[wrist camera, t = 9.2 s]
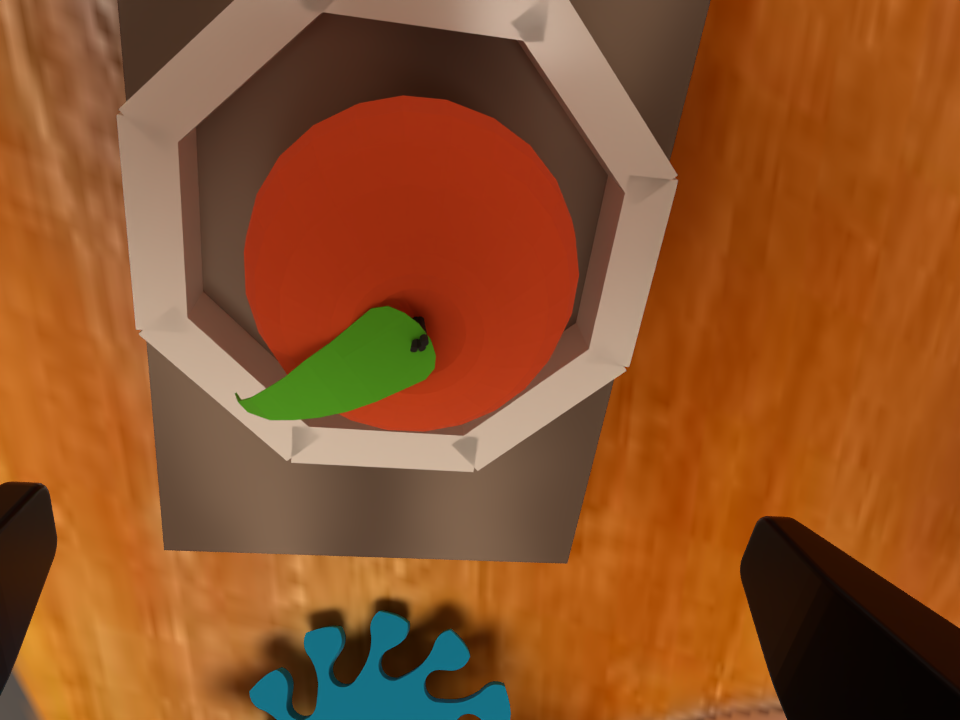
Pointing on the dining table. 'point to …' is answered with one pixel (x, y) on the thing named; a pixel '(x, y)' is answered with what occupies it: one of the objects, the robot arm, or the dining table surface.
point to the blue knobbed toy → (380, 681)
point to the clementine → (407, 267)
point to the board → (213, 429)
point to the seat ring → (250, 368)
